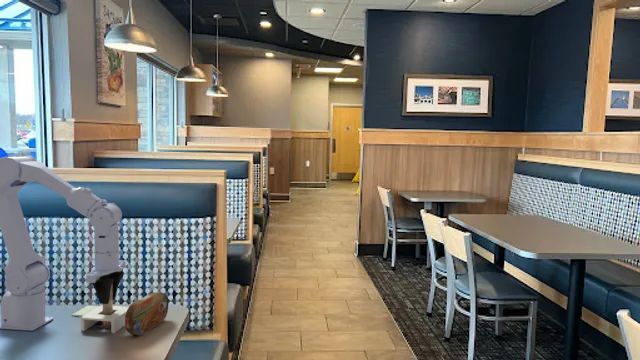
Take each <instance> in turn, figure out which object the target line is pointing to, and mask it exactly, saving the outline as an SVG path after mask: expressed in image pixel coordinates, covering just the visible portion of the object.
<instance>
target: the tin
mask: <svg viewBox="0 0 640 360" xmlns="http://www.w3.org/2000/svg"><path fill="white" fill-rule="evenodd" d="M128 307H129V308H128V310H127V312H126V315H125V326H124V327H125V330H126V332H128V333H129V334H131V335H135V336H143V335H145V334H146V333H148V332H150V331H151V330H153V329H154V328H155V327H157V326H159V325H160V324H162V323H163V322H164V321H165V319H166V317H167V314H168V311H169V299H168V297H167V294H165V293H164V292H161V291H160V292H151V293H149V294H147V295H145V296H143V297H142V298H140V299H138V300H136V301H134V302H132V303H131V304H130V305H129V306H128Z"/></svg>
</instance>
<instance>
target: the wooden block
mask: <svg viewBox="0 0 640 360" xmlns="http://www.w3.org/2000/svg"><path fill="white" fill-rule="evenodd" d="M113 303H114V300H113V284H112V285H111V290H110V299H109V303H108V304H102V305H103V315H111V314H113V306H114V304H113Z"/></svg>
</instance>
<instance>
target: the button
mask: <svg viewBox="0 0 640 360" xmlns="http://www.w3.org/2000/svg"><path fill="white" fill-rule="evenodd" d="M101 324H102V325H103V326H110V325H111V322H110V321H101Z"/></svg>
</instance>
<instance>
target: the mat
mask: <svg viewBox="0 0 640 360" xmlns="http://www.w3.org/2000/svg"><path fill="white" fill-rule="evenodd" d="M99 306H100V305H99ZM99 306H98V305H85V307H83V308H81V309H79V310H77V311H76V312H74V313H72V314H71V316H72V317H79V316H81V317H83V316H84V315H86V314H88V313H89V312H91V311H93V310H94V309H96V308H98V307H99ZM81 317H80V318H81Z"/></svg>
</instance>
